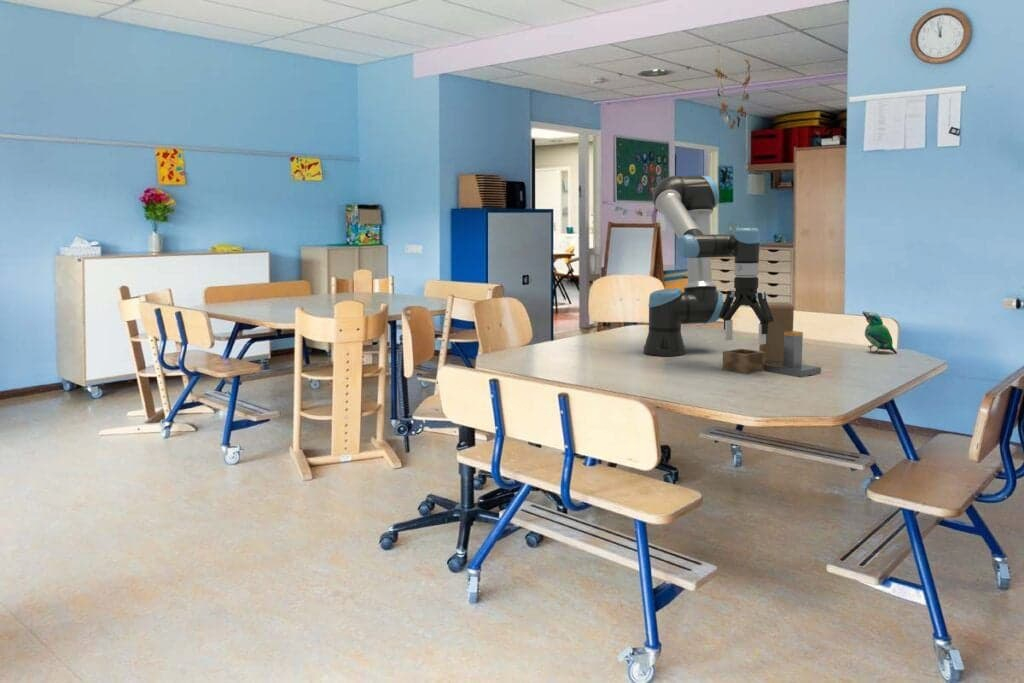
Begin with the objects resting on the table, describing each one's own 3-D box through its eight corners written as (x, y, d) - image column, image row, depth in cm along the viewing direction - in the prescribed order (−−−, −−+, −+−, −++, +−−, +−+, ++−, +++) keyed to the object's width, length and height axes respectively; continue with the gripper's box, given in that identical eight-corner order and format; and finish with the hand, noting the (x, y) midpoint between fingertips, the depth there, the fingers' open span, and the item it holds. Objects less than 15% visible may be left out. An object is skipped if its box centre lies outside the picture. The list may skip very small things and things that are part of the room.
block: (792, 364, 286) (794, 305, 283) (761, 363, 288) (763, 304, 285) (788, 359, 295) (790, 302, 292) (758, 358, 297) (760, 301, 294)
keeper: (764, 370, 274) (765, 330, 273) (783, 367, 280) (785, 328, 278) (800, 377, 263) (802, 335, 261) (820, 373, 269) (822, 332, 267)
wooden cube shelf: (722, 369, 277) (722, 351, 277) (741, 366, 283) (742, 348, 282) (745, 373, 270) (746, 355, 269) (765, 370, 275) (765, 352, 274)
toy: (861, 354, 304) (863, 312, 302) (859, 350, 312) (861, 309, 309) (898, 355, 300) (901, 313, 298) (895, 351, 308) (897, 310, 306)
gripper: (708, 275, 280) (707, 339, 283) (770, 278, 259) (769, 347, 262) (724, 274, 284) (723, 337, 287) (786, 277, 264) (784, 344, 266)
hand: (745, 342), depth 274 cm, fingers open, 13 cm apart
